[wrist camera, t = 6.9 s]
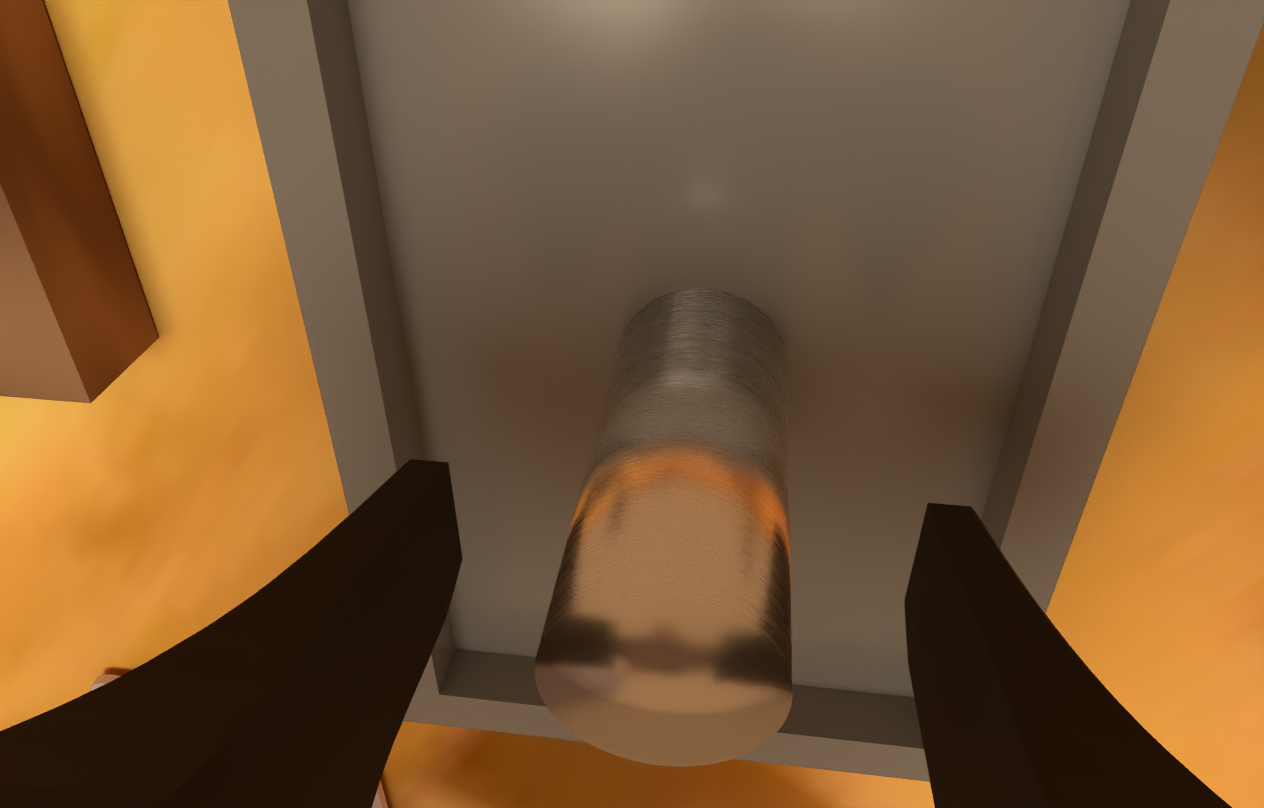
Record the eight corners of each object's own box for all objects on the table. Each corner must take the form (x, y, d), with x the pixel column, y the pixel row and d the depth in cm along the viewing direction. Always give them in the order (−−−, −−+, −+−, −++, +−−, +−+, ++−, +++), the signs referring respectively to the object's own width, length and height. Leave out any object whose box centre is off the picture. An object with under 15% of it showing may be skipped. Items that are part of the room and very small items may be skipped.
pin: (785, 433, 18) (789, 775, 12) (624, 430, 19) (550, 758, 13) (789, 287, 17) (796, 602, 10) (610, 288, 17) (517, 590, 11)
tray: (967, 714, 23) (981, 787, 22) (423, 656, 25) (397, 720, 23) (1295, -280, 12) (1375, -282, 10) (238, -276, 13) (162, -277, 12)
